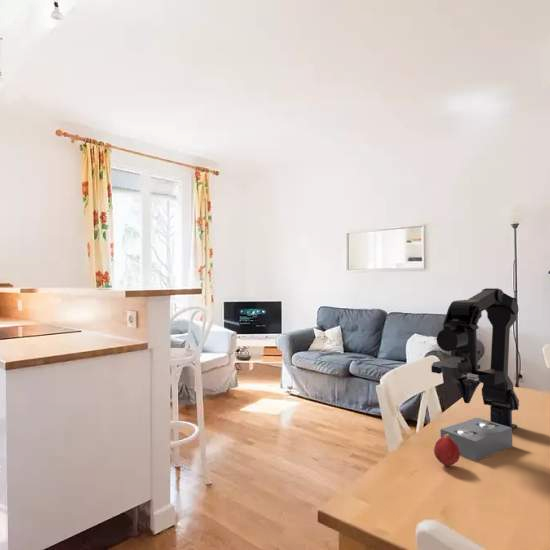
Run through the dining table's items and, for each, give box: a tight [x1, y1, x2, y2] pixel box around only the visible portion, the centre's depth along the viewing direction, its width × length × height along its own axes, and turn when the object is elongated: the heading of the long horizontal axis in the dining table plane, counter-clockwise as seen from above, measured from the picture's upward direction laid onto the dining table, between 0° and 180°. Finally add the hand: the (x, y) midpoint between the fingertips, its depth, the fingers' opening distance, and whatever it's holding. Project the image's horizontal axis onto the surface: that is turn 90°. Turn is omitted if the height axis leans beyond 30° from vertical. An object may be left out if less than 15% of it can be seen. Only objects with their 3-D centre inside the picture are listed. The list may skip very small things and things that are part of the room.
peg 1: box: [457, 429, 474, 437], centre depth 107 cm, size 4×4×5 cm
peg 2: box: [479, 422, 495, 429], centre depth 112 cm, size 4×4×5 cm
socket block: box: [440, 417, 513, 462], centre depth 110 cm, size 17×10×5 cm, turn 121°
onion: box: [433, 434, 461, 468], centre depth 98 cm, size 6×6×8 cm
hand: (467, 403), depth 111 cm, fingers closed
